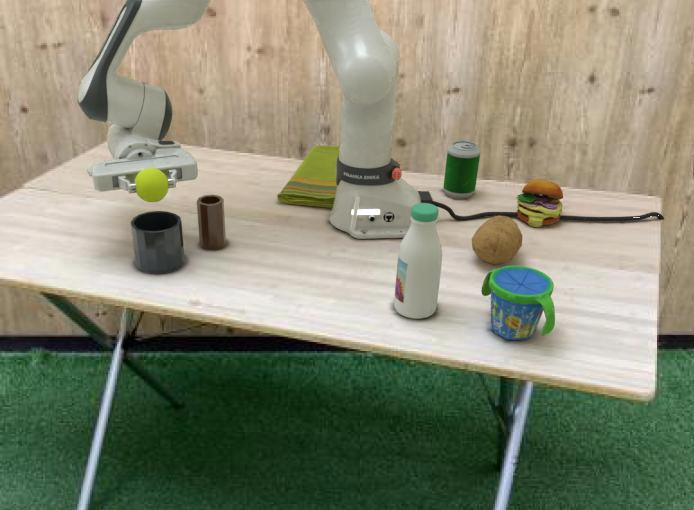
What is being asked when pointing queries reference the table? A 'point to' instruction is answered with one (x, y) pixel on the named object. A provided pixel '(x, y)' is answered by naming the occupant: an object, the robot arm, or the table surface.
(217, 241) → the ball stand
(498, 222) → the potato
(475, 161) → the soda can
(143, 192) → the tennis ball
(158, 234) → the dark grey round container
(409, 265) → the milk bottle
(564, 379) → the table surface
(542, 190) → the cheeseburger
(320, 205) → the dish towel
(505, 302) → the snack cup
